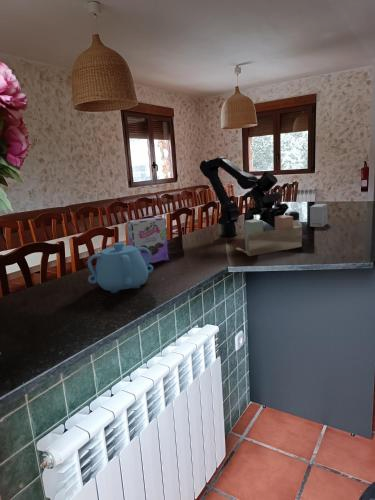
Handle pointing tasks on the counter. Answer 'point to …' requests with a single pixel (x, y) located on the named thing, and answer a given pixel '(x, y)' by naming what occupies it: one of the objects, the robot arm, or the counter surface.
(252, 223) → the sage block
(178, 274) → the counter surface
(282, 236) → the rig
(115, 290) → the decorative pot
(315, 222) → the skincare box
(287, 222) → the terracotta block
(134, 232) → the candy box
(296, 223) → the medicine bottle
